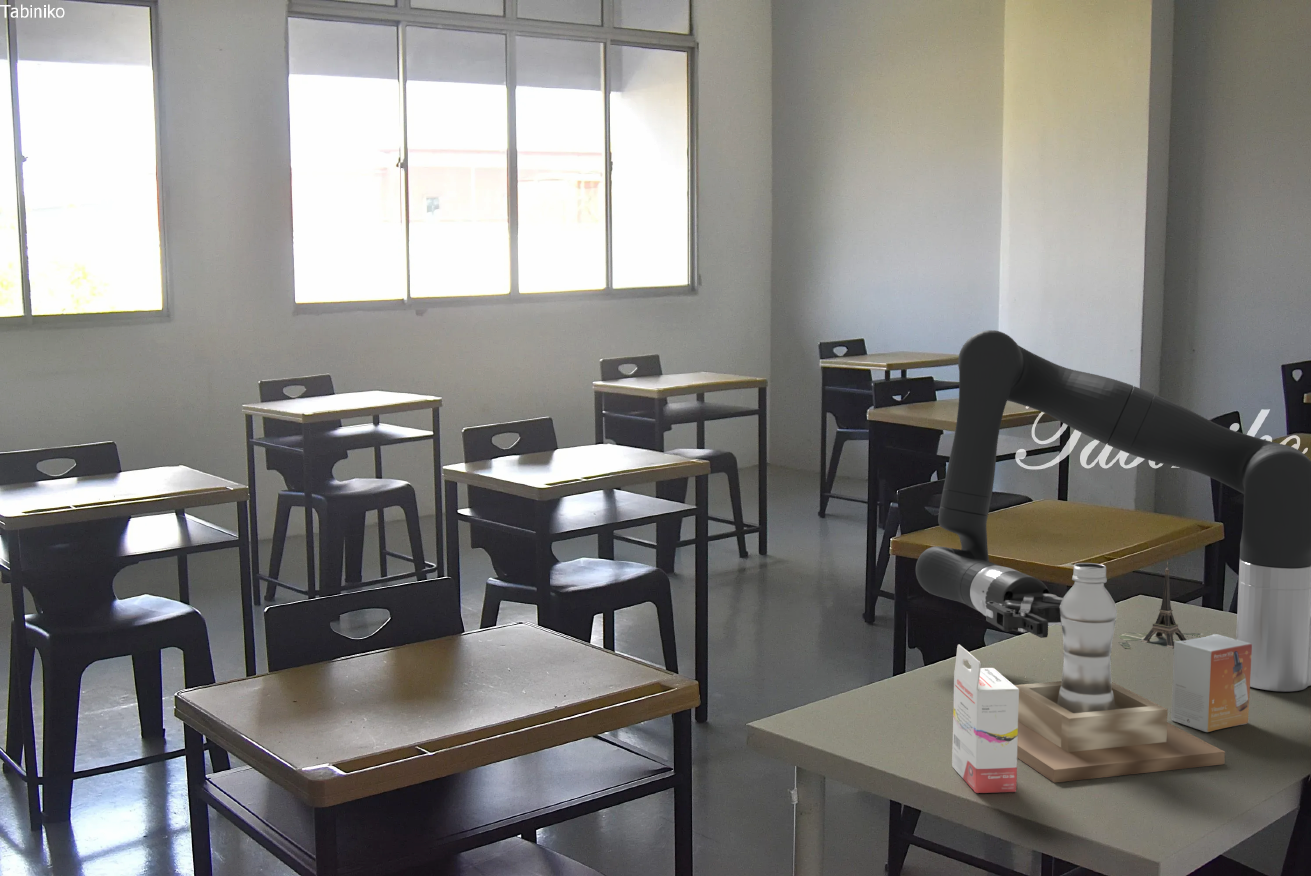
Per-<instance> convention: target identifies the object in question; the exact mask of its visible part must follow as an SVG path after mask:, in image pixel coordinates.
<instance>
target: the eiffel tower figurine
mask: <svg viewBox="0 0 1311 876" xmlns="http://www.w3.org/2000/svg"><path fill="white" fill-rule="evenodd" d="M1166 562H1167V564H1166V568H1165V569H1164V585H1163V593H1162V601H1161V605H1160V609H1158V612H1159V613H1158V616H1157V618H1156V620H1155V622H1154V623H1152V627H1151V628H1150V630H1149V632H1126V633H1123V634H1120V635H1118V639H1121V640H1123V642H1120V641H1119V642H1118V643H1119V645H1121V646H1122V647H1123V648H1124V649H1131V650H1133V648H1132V647H1131V645H1132V643H1130V642H1138V641H1139V642H1140V643H1142V644H1143V643H1144V644H1147V645H1153V646H1157V647H1162V648H1167V649H1172V650H1174V642H1175V641H1184V640H1187V639H1186V636H1184V635H1192V636H1193V635H1194V636H1196V637H1198V635H1204V633H1201V632H1182V631H1181V630H1180V628H1179V623H1176V620H1175V617H1174V614H1173V609H1172V605H1171V604H1172V603H1171V595H1170V594H1171V592H1170V570H1171V569H1169V567H1168V566H1169V563H1168V561H1166ZM1174 636H1176V637H1178V639H1175V638H1174ZM1199 637H1200V636H1199Z"/></svg>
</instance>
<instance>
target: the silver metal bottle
mask: <svg viewBox="0 0 1311 876" xmlns="http://www.w3.org/2000/svg"><path fill="white" fill-rule="evenodd" d="M1071 580H1072V581H1074V582H1073V583H1074V584H1073V585H1072V587H1071V588H1070V589H1069V590H1068V591H1067V592H1066V593H1065V595H1064V596H1063V597H1062V598H1063V599H1062V601H1061V604H1060V615H1061V616H1060V617H1061V625H1062V626H1061V632H1062V641H1063V642H1062V643H1063V644H1062V645H1063V646H1062V647H1063V648H1062V649H1063V665H1062V675H1061V681H1062V683H1061V685H1062V686H1061V687H1060V691H1059V696H1058V702H1057V704H1058V705H1059V706H1061V707H1063V708H1065V709H1066V710H1068V711H1070V712H1072V713H1083V712H1094V711H1104V710H1115V702H1114V695H1113V691H1112V682H1113V681H1112V668H1111V661H1112V655H1111V654H1112V649H1113V648H1112V647H1113V638H1114V634H1115V628H1116V622H1117V621H1116V620H1117V617H1118V615H1117V614H1118V610H1117V606H1116V602H1115V601H1114V599H1113V598H1112V596H1111V594H1110V592H1109V591H1108V590H1107V588H1106V587H1105V583H1107V580H1108V578H1107V566H1106V565H1104V564H1101V563H1093V562H1078V563H1074V564H1073V575H1072V578H1071Z"/></svg>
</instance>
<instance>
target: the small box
mask: <svg viewBox="0 0 1311 876" xmlns="http://www.w3.org/2000/svg"><path fill="white" fill-rule="evenodd" d="M1205 636H1206V635H1205ZM1251 656H1252V644H1251V643H1248V642H1244V641H1241V640H1237V639H1236V638H1233V637H1230V636H1226V635H1222V634H1217V633H1213V634H1211V635H1207V636H1206V637H1201V638H1190V639H1186V640H1184V641H1175V642H1174V649H1173V667H1172V670H1173V671H1172V687H1171V688H1172V690H1171V693H1172V694H1171V716H1170V719H1171V721H1172V722H1175V723H1179V724H1181V725H1184V726H1187V727H1189V728H1192V729H1196V730H1198V731H1201V732H1204V733H1210V732H1213V731H1217V730H1222V729H1226V728H1232V727H1237V726H1242V725H1247V724H1248V723H1249V711H1250V710H1249V709H1250V693H1251V692H1250V691H1251V687H1250V676H1251Z"/></svg>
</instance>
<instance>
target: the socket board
mask: <svg viewBox="0 0 1311 876" xmlns="http://www.w3.org/2000/svg"><path fill="white" fill-rule="evenodd" d="M1061 683H1062V680H1060V681H1058V680H1057V681H1047V682H1037V683H1026V684H1025V683H1024V684H1014V685H1015V686H1016V687H1017V688H1018V689H1019V705H1018V742H1017V760H1020V761H1021V762H1023V763H1024V764H1026V765H1028V766H1029V767H1031V768H1032V769H1033V770H1035V771H1037V772H1038V773H1039V774H1041V775H1042V776H1043V777H1045V778H1047V780H1049V781H1051V782H1052V783H1064V782H1073V781H1080V780H1082V781H1083V780H1092V779H1101V778H1109V777H1118V776H1119V777H1120V776H1128V775H1136V774H1137V775H1138V774H1146V773H1147V774H1148V773H1154V772H1155V773H1156V772H1164V771H1174V770H1183V769H1193V768H1201V767H1209V766H1220V765H1225V757H1226V754H1225V753H1226V751H1225V750H1222V749H1221V748H1219V747H1216V746H1215V745H1212V744H1211V743H1209V742H1206V740H1203V739H1201V738H1200V737H1197V736H1195V735H1194V734H1191V733H1190V732H1188V731H1186V730H1183V729H1182V728H1179V727H1177V726H1176V725H1174V724H1172V723H1170V722H1168V708H1166V707H1164V706H1162V705H1159V704H1158V703H1156V702H1154V701H1152V700H1150V699H1148V698H1146V697H1144V696H1143V695H1139V694H1138V693H1136V692H1134V691H1131V690H1130V689H1128V688H1125V687H1124V686H1122V685H1120V684H1118V683H1116V682H1114V681H1112V691H1113V695H1114V702H1115V710H1104V711H1094V712H1083V713H1072V712H1070V711H1068V710H1066V709H1065V708H1063V707H1061V706H1059V705H1058V704H1057V702H1058V696H1059V691H1060V687H1061V686H1062V685H1061Z"/></svg>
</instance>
